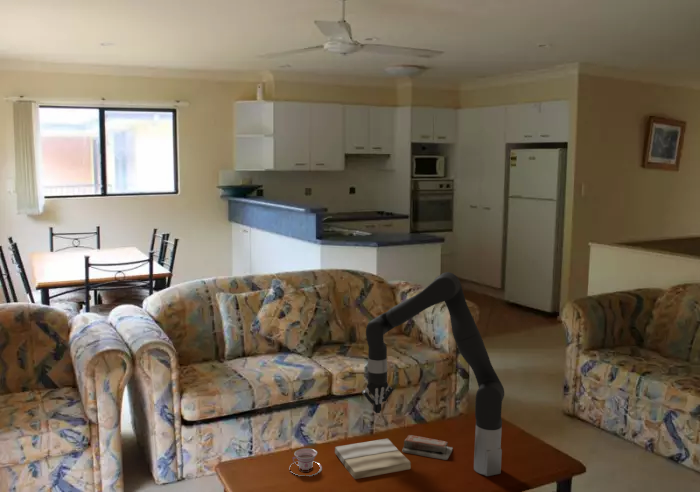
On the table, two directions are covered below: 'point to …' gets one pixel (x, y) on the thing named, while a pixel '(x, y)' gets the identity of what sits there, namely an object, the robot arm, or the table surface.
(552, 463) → the table surface
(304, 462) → the teacup
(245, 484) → the table surface
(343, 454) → the whitewashed plank
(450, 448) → the packaged product
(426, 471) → the table surface
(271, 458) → the table surface
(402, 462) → the oak plank
